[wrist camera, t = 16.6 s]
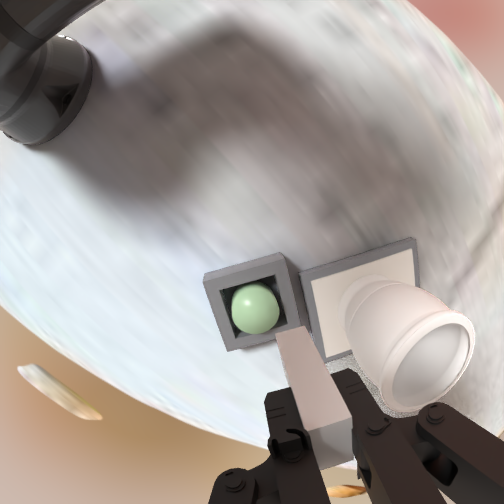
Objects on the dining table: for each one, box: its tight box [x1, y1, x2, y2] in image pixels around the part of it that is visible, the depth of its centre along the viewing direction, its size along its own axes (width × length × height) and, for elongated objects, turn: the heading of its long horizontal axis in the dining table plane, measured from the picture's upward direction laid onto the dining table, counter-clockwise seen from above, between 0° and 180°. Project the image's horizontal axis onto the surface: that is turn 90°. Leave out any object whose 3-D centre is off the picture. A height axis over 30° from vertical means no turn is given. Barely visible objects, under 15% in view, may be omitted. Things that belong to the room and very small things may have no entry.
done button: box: [232, 281, 279, 334], centre depth 33 cm, size 5×5×3 cm
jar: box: [338, 274, 475, 413], centre depth 28 cm, size 11×10×15 cm
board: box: [299, 237, 420, 363], centre depth 36 cm, size 16×13×2 cm
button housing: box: [203, 252, 301, 352], centre depth 34 cm, size 9×9×3 cm
